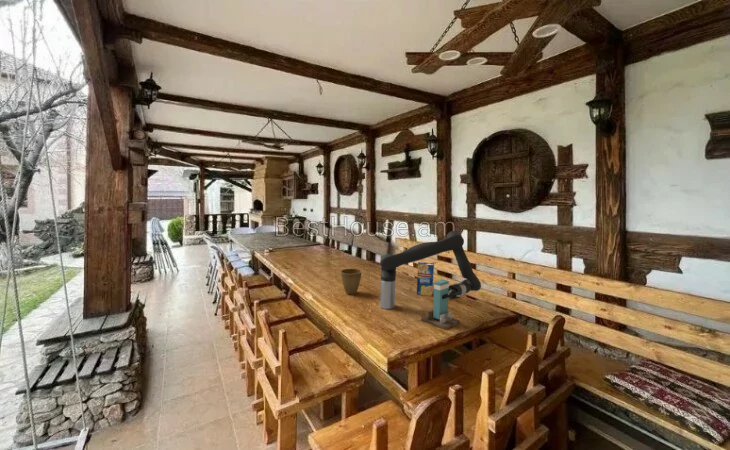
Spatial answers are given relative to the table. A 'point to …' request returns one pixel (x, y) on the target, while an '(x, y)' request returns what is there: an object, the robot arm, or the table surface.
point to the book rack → (440, 320)
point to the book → (440, 298)
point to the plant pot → (351, 280)
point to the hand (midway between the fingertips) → (439, 296)
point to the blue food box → (425, 278)
